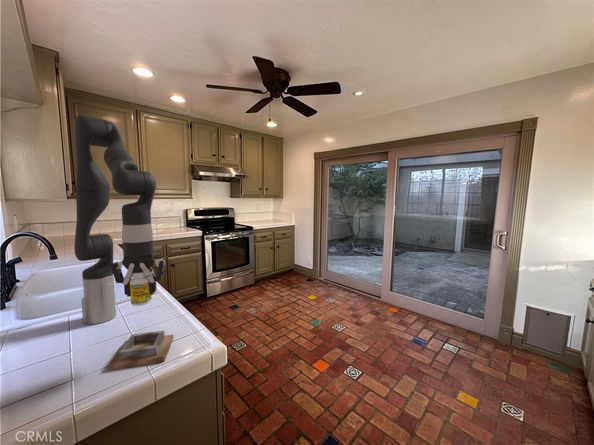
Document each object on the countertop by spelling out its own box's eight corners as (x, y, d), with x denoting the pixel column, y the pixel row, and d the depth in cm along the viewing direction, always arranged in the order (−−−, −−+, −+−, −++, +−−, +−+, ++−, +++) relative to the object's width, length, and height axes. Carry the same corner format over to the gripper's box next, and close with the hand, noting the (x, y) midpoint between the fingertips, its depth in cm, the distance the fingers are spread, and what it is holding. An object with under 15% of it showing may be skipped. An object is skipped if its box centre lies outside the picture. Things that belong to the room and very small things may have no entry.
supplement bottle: (151, 297, 77) (149, 267, 76) (152, 303, 73) (150, 272, 72) (130, 301, 74) (129, 270, 73) (130, 307, 70) (128, 275, 69)
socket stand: (108, 370, 67) (107, 356, 67) (125, 344, 79) (125, 333, 78) (164, 361, 71) (163, 348, 71) (173, 338, 83) (172, 327, 82)
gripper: (168, 236, 77) (170, 288, 79) (115, 238, 73) (118, 292, 75) (161, 240, 70) (164, 297, 72) (103, 242, 66) (107, 302, 68)
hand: (141, 294), depth 73 cm, fingers closed on supplement bottle, 5 cm apart
